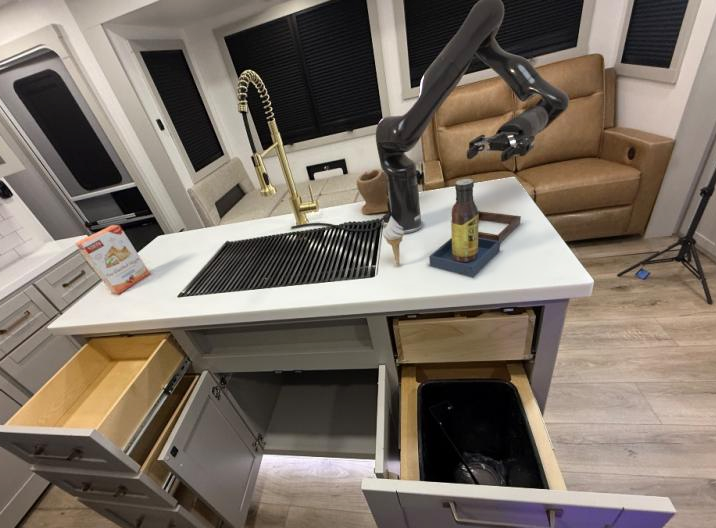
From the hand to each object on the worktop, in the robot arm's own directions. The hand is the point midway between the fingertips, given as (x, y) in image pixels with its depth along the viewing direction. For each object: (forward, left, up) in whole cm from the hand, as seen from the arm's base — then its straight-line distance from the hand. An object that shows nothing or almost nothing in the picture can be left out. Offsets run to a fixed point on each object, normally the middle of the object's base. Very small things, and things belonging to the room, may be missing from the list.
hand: (484, 156), depth 82 cm
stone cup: (-43, +7, -23) cm, 50 cm away
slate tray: (+1, -11, -23) cm, 25 cm away
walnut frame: (-1, +5, -23) cm, 23 cm away
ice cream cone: (-13, -21, -23) cm, 34 cm away
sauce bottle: (+1, -11, -22) cm, 25 cm away
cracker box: (-99, -74, -23) cm, 126 cm away
